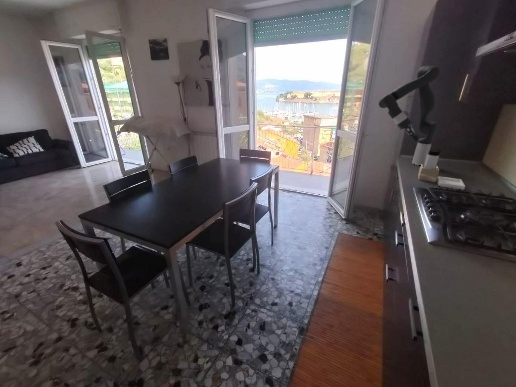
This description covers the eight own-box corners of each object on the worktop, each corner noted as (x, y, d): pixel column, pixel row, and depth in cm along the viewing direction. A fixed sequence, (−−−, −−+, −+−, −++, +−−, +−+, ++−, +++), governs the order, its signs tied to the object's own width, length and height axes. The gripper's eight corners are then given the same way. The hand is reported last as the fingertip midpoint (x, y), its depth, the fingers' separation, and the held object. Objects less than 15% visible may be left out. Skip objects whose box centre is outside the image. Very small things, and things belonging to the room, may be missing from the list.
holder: (417, 174, 167) (421, 164, 163) (434, 177, 162) (437, 166, 159) (418, 179, 158) (421, 168, 155) (435, 182, 154) (439, 170, 151)
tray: (436, 179, 158) (437, 176, 157) (459, 182, 152) (461, 179, 151) (438, 186, 147) (439, 182, 146) (463, 190, 141) (465, 186, 140)
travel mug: (431, 180, 156) (441, 151, 148) (420, 178, 160) (429, 150, 151) (432, 177, 161) (441, 149, 152) (421, 176, 164) (429, 148, 156)
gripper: (407, 117, 147) (423, 137, 147) (407, 115, 159) (422, 134, 158) (395, 125, 152) (411, 144, 151) (396, 123, 163) (411, 141, 163)
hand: (417, 139), depth 155 cm, fingers open, 8 cm apart
